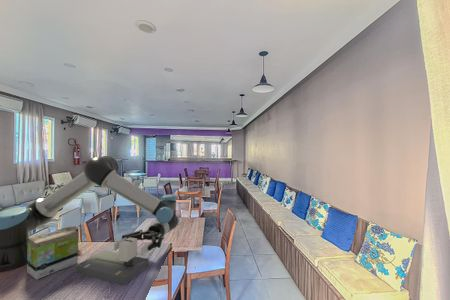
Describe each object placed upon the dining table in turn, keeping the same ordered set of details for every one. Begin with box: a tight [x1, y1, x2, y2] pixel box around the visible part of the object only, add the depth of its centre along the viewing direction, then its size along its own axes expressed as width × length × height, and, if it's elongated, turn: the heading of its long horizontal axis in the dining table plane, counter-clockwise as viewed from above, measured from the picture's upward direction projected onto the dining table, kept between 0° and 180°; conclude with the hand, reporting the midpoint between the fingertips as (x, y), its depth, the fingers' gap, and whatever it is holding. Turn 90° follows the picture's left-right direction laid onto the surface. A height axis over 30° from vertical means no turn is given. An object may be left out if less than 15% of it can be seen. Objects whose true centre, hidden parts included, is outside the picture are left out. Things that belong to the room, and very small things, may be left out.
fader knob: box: [118, 237, 138, 267], centre depth 90 cm, size 4×6×10 cm, turn 163°
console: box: [75, 249, 149, 286], centre depth 92 cm, size 25×14×3 cm, turn 73°
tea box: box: [26, 226, 79, 281], centre depth 93 cm, size 15×10×15 cm
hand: (127, 249), depth 89 cm, fingers open, 13 cm apart
